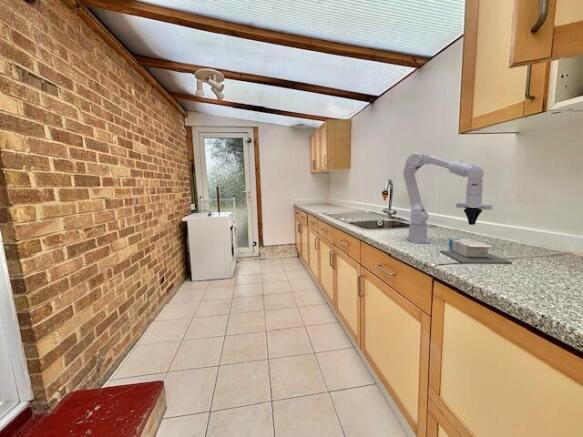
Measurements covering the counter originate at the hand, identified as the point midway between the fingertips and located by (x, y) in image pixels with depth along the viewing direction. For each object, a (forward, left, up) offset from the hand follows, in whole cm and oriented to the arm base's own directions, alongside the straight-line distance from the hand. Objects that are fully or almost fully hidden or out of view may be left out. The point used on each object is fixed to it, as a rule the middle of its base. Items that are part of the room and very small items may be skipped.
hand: (471, 224), depth 114 cm
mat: (+17, -9, -10) cm, 22 cm away
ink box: (+7, -9, -7) cm, 14 cm away
